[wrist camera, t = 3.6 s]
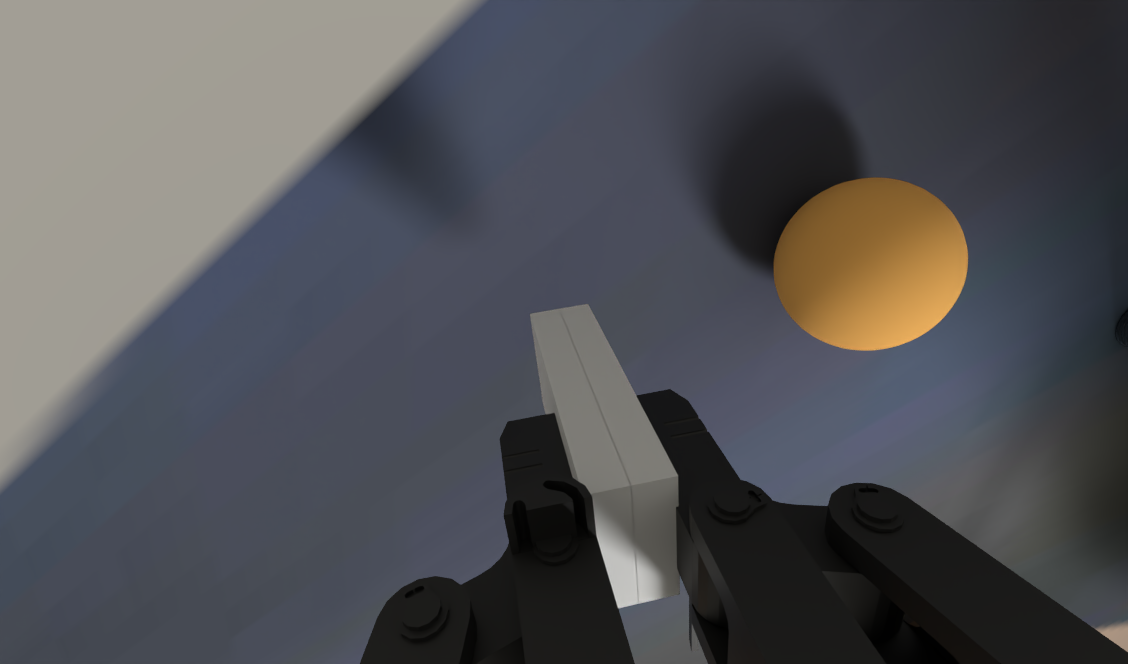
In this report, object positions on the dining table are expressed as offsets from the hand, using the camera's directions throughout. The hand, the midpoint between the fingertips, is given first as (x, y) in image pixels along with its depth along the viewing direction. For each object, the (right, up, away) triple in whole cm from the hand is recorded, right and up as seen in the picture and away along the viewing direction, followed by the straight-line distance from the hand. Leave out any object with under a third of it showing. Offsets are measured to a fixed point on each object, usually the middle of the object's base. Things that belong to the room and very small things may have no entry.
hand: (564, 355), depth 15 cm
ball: (+10, +3, +4) cm, 11 cm away
